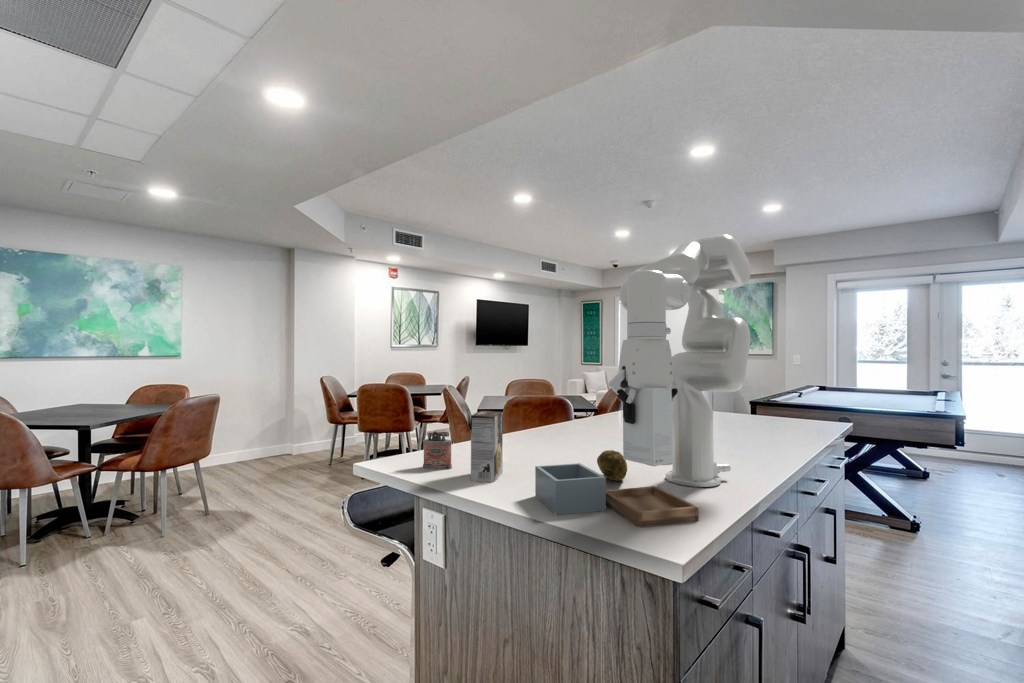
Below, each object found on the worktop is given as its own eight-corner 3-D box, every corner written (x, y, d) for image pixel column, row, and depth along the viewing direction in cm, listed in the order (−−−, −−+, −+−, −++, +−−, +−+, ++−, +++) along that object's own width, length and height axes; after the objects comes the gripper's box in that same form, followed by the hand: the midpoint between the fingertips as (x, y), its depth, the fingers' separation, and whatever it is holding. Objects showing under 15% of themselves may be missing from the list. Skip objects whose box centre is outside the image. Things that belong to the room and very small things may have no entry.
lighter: (421, 468, 128) (421, 431, 129) (425, 465, 132) (425, 429, 132) (449, 469, 127) (449, 432, 127) (453, 466, 130) (453, 430, 131)
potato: (635, 476, 120) (635, 445, 120) (622, 489, 108) (622, 454, 109) (603, 473, 124) (603, 442, 124) (587, 485, 112) (587, 451, 113)
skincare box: (673, 465, 92) (675, 388, 92) (651, 467, 88) (653, 388, 89) (640, 456, 99) (643, 385, 99) (619, 458, 96) (621, 385, 96)
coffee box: (479, 471, 125) (479, 410, 125) (503, 473, 124) (503, 411, 124) (469, 480, 116) (469, 414, 116) (495, 482, 115) (495, 415, 115)
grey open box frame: (580, 492, 106) (580, 463, 107) (605, 510, 94) (605, 477, 94) (535, 496, 104) (535, 466, 104) (555, 515, 91) (555, 481, 92)
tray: (654, 497, 102) (654, 486, 102) (698, 520, 88) (698, 507, 88) (601, 502, 99) (601, 490, 99) (638, 527, 85) (638, 513, 85)
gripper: (673, 334, 100) (673, 418, 100) (598, 333, 96) (598, 421, 95) (695, 332, 93) (696, 423, 93) (615, 331, 89) (616, 426, 88)
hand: (646, 421), depth 94 cm, fingers closed on skincare box, 6 cm apart
